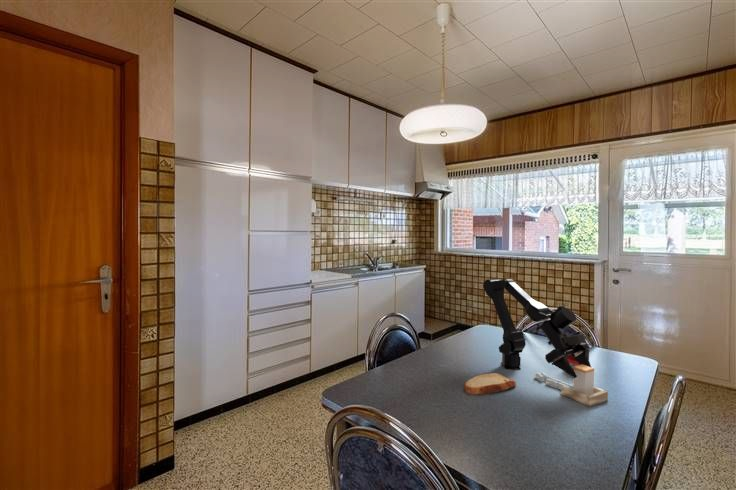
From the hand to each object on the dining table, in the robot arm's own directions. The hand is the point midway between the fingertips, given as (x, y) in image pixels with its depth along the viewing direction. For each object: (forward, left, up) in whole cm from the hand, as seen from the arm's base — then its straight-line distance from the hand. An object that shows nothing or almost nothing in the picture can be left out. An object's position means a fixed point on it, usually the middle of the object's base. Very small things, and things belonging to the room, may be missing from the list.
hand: (583, 375), depth 121 cm
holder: (0, 0, -8) cm, 8 cm away
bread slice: (-30, +6, -8) cm, 32 cm away
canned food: (+11, +25, -8) cm, 29 cm away
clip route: (-6, +10, -8) cm, 14 cm away
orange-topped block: (0, 0, -7) cm, 7 cm away
